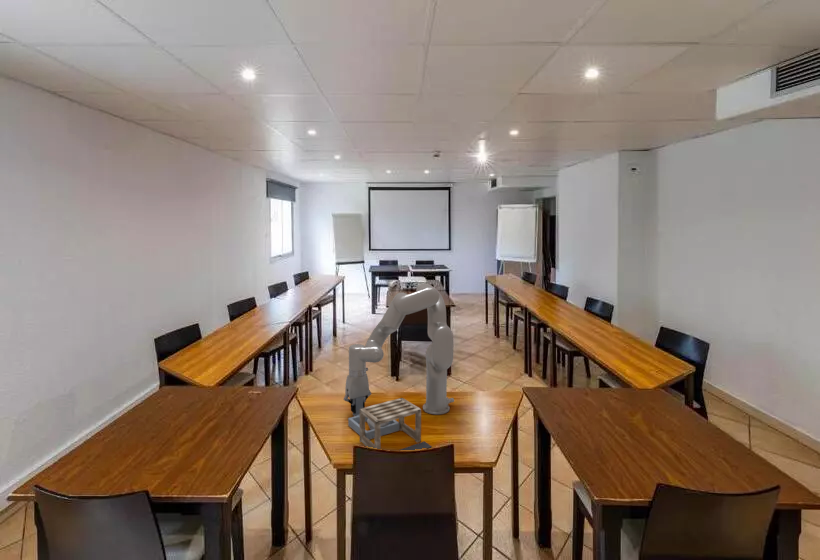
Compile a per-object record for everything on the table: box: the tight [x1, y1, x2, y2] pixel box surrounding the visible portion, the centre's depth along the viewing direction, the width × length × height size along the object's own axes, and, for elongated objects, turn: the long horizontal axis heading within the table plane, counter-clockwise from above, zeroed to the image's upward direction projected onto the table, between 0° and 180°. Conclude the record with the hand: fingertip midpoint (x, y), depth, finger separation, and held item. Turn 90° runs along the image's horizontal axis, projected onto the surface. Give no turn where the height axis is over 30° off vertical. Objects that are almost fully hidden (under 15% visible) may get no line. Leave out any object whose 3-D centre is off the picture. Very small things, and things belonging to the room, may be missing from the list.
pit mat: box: [399, 441, 433, 450], centre depth 163 cm, size 12×5×1 cm, turn 124°
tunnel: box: [359, 397, 422, 449], centre depth 168 cm, size 20×14×14 cm
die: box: [366, 413, 389, 430], centre depth 177 cm, size 8×9×10 cm
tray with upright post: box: [347, 397, 400, 441], centre depth 182 cm, size 16×24×9 cm, turn 34°
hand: (357, 410), depth 191 cm, fingers closed on tray with upright post, 3 cm apart
